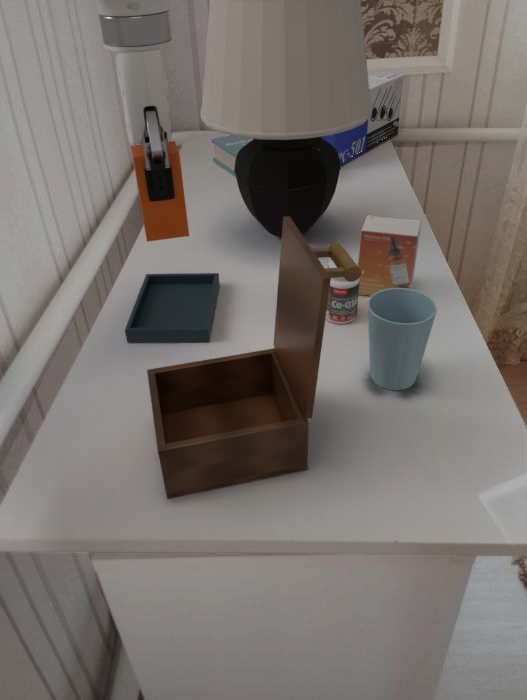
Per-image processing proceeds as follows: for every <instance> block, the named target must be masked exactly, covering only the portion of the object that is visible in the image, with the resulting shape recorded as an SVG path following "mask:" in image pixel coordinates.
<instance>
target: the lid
mask: <svg viewBox="0 0 527 700" xmlns="http://www.w3.org/2000/svg"><path fill="white" fill-rule="evenodd" d="M303 235H304V234H301V233H300V231H299V230H298V228H297V227H296V225H295V224H294V222H293V221H292V219H291V218H290V216H287V217H283V226H282V237H281V241H280V253H279V254H280V255H279V266H278V267H279V268H278V281H277V295H276V307H275V320H274V334H273V347H274V348H275V349H276V352H277V354H278V356H279V359H280V361H281V363H282V366H283V368H284V370H285V372H286V375H287V377H288V379H289V382H290V384H291V386H292V389H293V391H294V393H295V396H296V398H297V400H298V402H299V405H300V407H301V409H302V412H303V414H304V416H305V419H312V418H313V414H314V408H315V407H314V406H315V400H316V392H317V385H318V378H319V377H318V376H319V369H320V363H321V362H320V361H321V356H322V355H321V353H322V346H323V339H324V331H325V324H326V310H327V303H328V295H329V288H330V280H331V278H338V277H344V278H345V279H346V280H347V281H349V282H353V281H356V280H357V279H358V278H359V277H360V275H361V269H360V268H359V267H358V265H357V264H356V263H355V261H354V260H353V259H352V258H353V257H352V256H351V255H350V254H349V252H348V251H347V250H346V248H345V247H344V245H342V243H340V242H338V241H335V242H332V243H330V244H329V245H328V247H317V248H311V245H310V244H309V243H308V241H307V240H306V238H305V237H304V236H303ZM322 258H330V259H331V260H332V261H333V262H334V264H335V265H336V267H337V268H328V267H327V268H326V267H325V266H324V265H323V264H322V262H321V260H319V259H322Z"/></svg>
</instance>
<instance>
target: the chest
mask: <svg viewBox="0 0 527 700" xmlns="http://www.w3.org/2000/svg"><path fill="white" fill-rule="evenodd" d="M146 373H147V380H148V381H147V382H148V388H149V396H150V403H151V410H152V417H153V425H154V433H155V439H156V440H155V441H156V447H157V454H158V459H159V464H160V465H159V466H160V470H161V474H162V479H163V485H164V489H165V494H166V498H167V499H173V498H177V497H183V496H187V495H192V494H196V493H203V492H207V491H211V490H215V489H220V488H226V487H231V486H236V485H241V484H245V483H250V482H254V481H260V480H264V479H265V480H266V479H269V478H274V477H278V476H283V475H289V474H293V473H298V472H299V473H300V472H304V471H307V470H309V431H310V430H309V428H310V427H309V426H310V425H309V420H308V419H305V416H304V414H303V412H302V409H301V407H300V405H299V402H298V400H297V398H296V396H295V393H294V391H293V389H292V386H291V384H290V382H289V379H288V377H287V375H286V372H285V370H284V368H283V366H282V363H281V361H280V359H279V356H278V354H277V352H276V349H275V347H274V348H268V349H261V350H256V351H250V352H245V353H239V354H233V355H226V356H220V357H214V358H209V359H203V360H196V361H192V362H184V363H180V364H173V365H168V366H161V367H156V368H151V369H150V368H149V369H146Z"/></svg>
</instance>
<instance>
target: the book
mask: <svg viewBox="0 0 527 700" xmlns="http://www.w3.org/2000/svg"><path fill="white" fill-rule="evenodd" d="M252 140H253V138H244V137H237V136H233V135H226V136H219V137H216V138H211V143H212V144H213V153H214V157H213V158H212V161H213V162H214V163H216V165H218V166H220V167H222V169H224V170H225V171H226V172H228V173H230V174H231V175H232V176H234V177H235V178H236V174H235V172H234V169H235V160H236V156H237V154H238V152H239V151H240V149H241V148H242V147H243V146H245V145H246V144H247V143H249V142H250V141H252Z"/></svg>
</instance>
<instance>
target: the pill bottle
mask: <svg viewBox="0 0 527 700" xmlns="http://www.w3.org/2000/svg"><path fill="white" fill-rule="evenodd" d="M351 258H352V259H353V260H354V261H355V263H356V264H357V265H358V261H357V260H356V259H355V258H354V257H351ZM327 268H337V267H336V265H335V264H334V262H333V261H332V260H331V258H330V259H329V260H328V261H327ZM358 292H359V278H358V279H357V280H356V281H353V282H349V281H347V280H346V279H345V278H344V277H338V278H331V280H330V288H329V295H328V303H327V310H326V318H325V320H327V321H328V322H330V323H333V324H336V325H337V324H338V325H343V324H344V325H345V324H350V323H352V322H353V321H355V319H356V318H357V316H358V315H357V314H358V306H359V305H358V304H359V294H358Z"/></svg>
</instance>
